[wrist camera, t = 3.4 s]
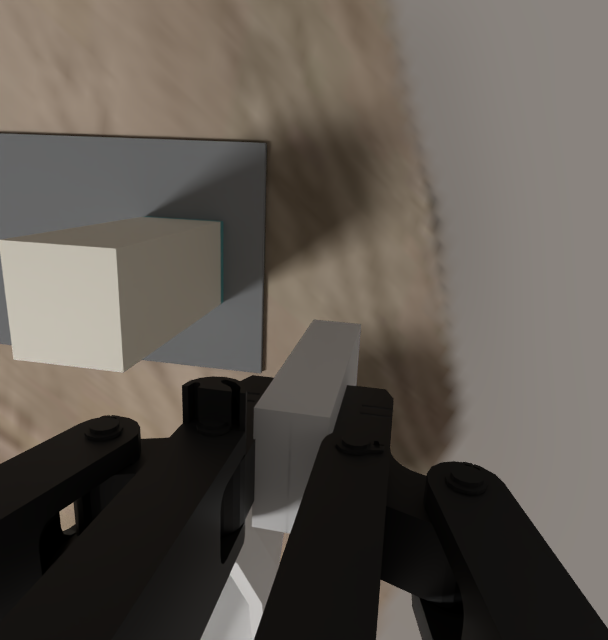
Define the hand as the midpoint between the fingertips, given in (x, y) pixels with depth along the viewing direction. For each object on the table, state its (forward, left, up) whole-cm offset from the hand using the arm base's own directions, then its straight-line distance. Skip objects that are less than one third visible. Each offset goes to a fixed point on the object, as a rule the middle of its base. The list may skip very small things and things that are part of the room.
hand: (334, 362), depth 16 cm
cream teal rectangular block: (-11, 0, -14) cm, 18 cm away
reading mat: (-17, 0, -15) cm, 23 cm away
